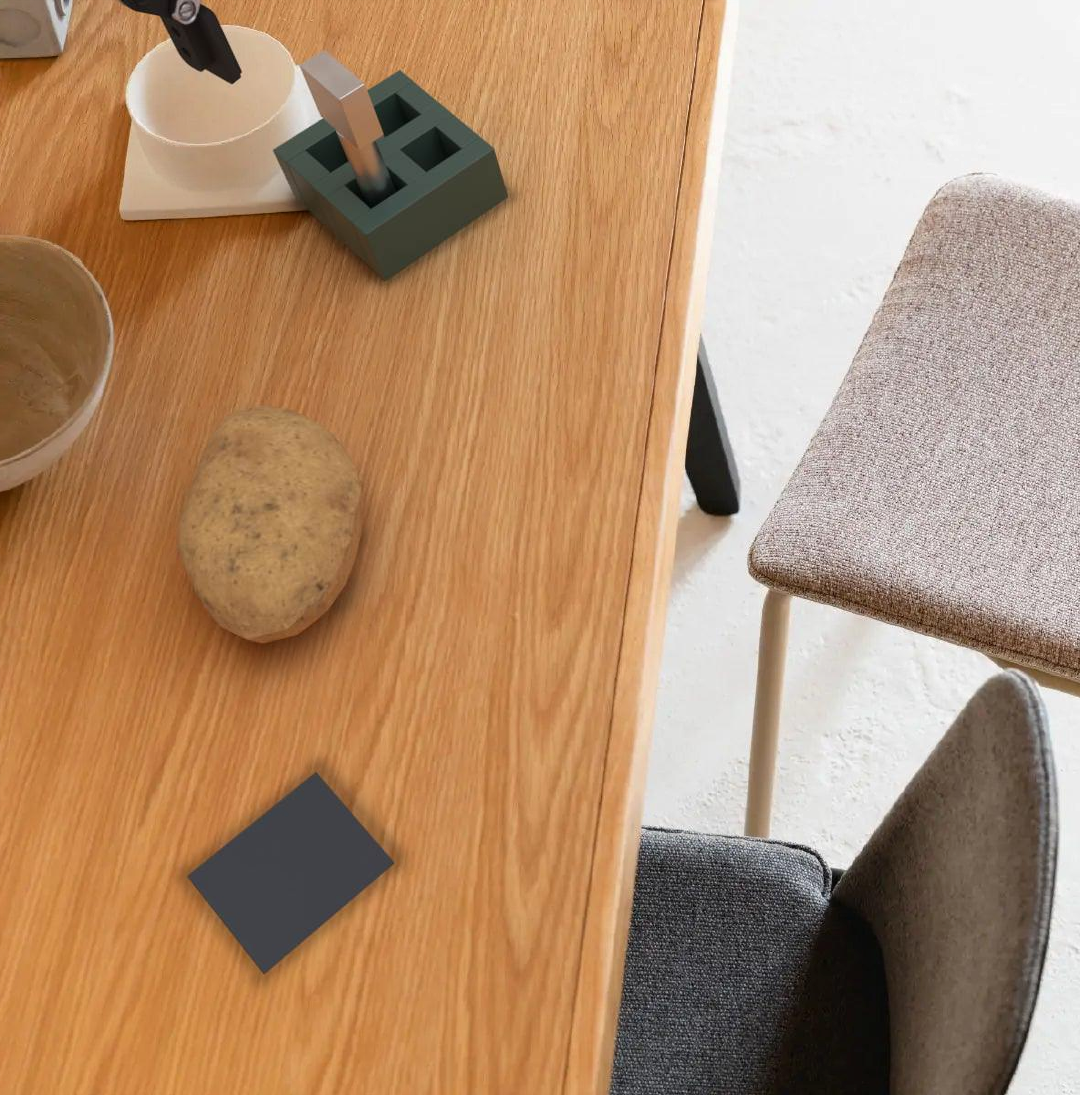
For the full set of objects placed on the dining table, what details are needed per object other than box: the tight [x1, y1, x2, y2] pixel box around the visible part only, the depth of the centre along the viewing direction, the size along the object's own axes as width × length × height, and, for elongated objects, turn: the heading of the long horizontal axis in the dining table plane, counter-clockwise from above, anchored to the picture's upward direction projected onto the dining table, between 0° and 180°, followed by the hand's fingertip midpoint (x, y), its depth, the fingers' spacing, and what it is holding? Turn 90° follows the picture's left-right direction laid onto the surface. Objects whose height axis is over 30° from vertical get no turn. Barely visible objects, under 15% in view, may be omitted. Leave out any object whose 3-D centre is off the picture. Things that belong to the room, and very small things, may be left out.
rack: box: [272, 69, 509, 282], centre depth 95 cm, size 10×10×5 cm
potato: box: [176, 404, 366, 644], centre depth 81 cm, size 10×14×8 cm
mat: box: [187, 771, 395, 975], centre depth 75 cm, size 7×8×1 cm
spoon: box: [299, 49, 396, 209], centre depth 90 cm, size 4×2×14 cm, turn 45°
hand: (289, 11), depth 72 cm, fingers open, 9 cm apart
